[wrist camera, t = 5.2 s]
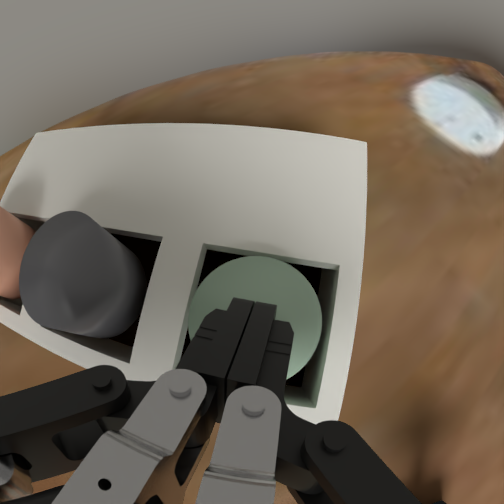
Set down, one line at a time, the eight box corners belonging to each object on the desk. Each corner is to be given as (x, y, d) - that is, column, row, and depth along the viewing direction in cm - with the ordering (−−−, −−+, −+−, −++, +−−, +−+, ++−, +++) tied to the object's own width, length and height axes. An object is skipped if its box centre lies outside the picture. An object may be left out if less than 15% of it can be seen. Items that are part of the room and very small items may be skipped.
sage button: (202, 367, 14) (175, 370, 11) (223, 273, 16) (205, 246, 12) (301, 387, 14) (308, 398, 10) (318, 290, 15) (330, 266, 11)
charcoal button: (59, 323, 14) (8, 308, 10) (84, 238, 15) (41, 206, 12) (132, 351, 13) (83, 344, 9) (158, 252, 15) (121, 216, 11)
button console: (41, 322, 22) (-32, 300, 14) (86, 186, 27) (36, 133, 18) (312, 403, 19) (334, 434, 10) (340, 216, 23) (366, 142, 14)
